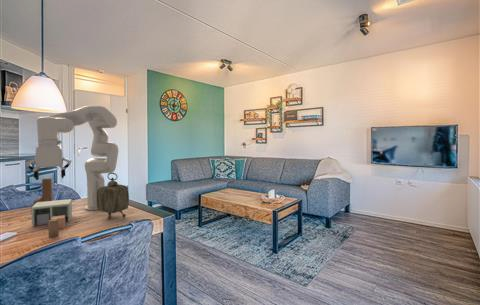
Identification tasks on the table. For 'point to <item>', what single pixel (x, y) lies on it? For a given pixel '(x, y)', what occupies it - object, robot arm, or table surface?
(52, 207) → the cubby shelf
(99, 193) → the tabletop clock
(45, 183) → the wooden block
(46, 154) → the robot arm
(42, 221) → the plain block
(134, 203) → the table surface
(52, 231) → the corded block
